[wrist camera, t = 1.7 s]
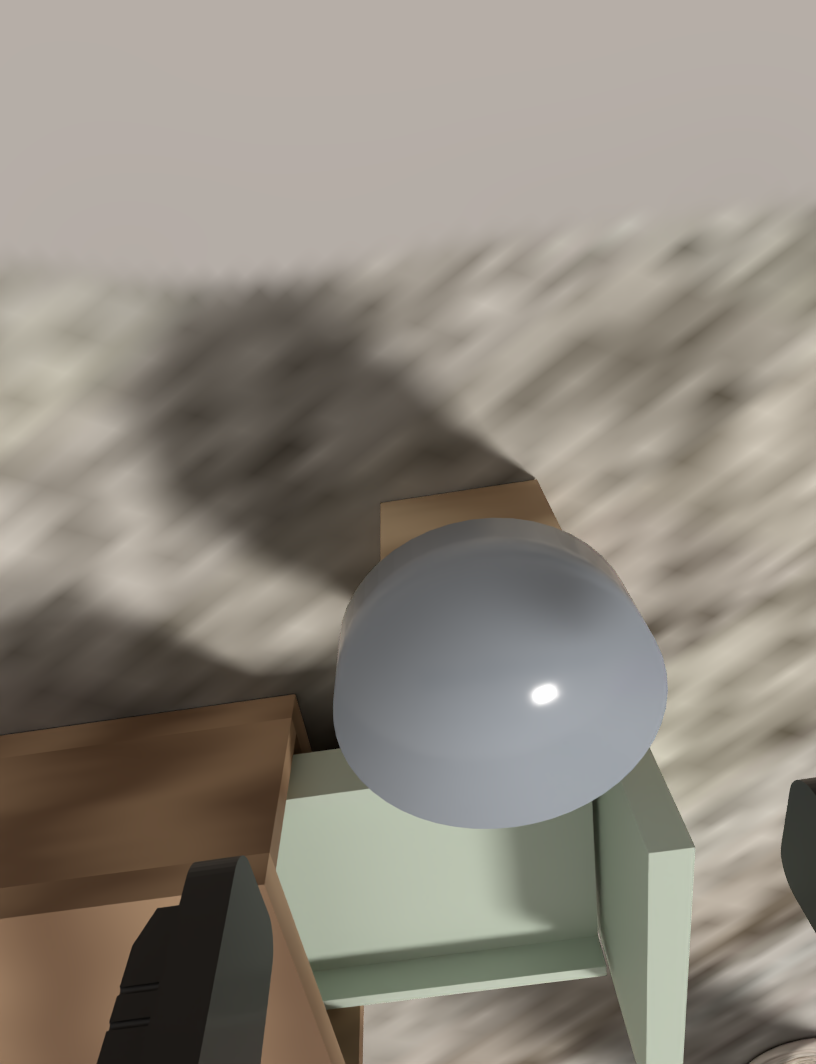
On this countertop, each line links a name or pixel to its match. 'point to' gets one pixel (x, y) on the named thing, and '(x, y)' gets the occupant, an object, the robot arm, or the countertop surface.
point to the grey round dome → (495, 676)
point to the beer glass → (790, 1053)
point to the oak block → (461, 511)
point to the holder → (143, 869)
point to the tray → (492, 898)
